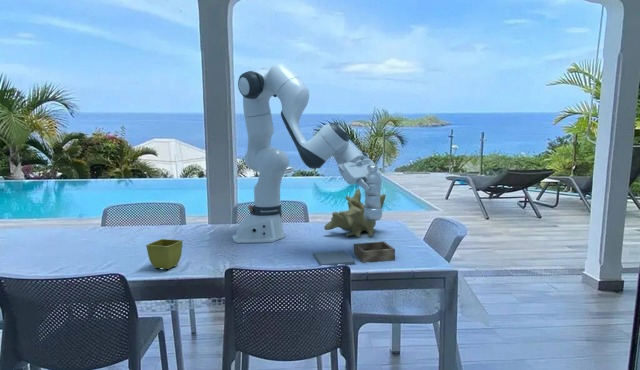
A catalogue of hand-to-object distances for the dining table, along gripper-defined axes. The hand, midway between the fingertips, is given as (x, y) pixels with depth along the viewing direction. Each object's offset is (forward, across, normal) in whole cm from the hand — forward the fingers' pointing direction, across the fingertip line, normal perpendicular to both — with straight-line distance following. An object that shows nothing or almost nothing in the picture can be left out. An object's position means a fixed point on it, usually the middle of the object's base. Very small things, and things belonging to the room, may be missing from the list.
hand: (373, 188), depth 158 cm
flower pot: (-20, -50, +56) cm, 78 cm away
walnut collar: (+18, 0, +18) cm, 25 cm away
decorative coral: (+2, +25, +34) cm, 42 cm away
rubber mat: (+10, -11, +25) cm, 29 cm away
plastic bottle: (+8, 0, +9) cm, 12 cm away
